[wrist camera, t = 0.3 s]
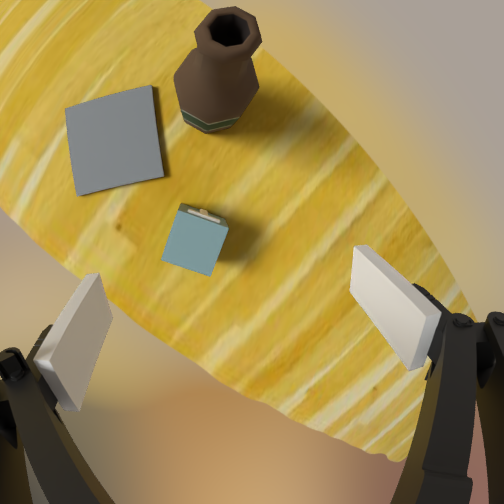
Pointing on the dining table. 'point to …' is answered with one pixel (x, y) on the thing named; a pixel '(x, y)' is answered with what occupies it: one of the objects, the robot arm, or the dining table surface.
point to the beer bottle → (219, 70)
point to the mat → (114, 140)
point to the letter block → (195, 240)
